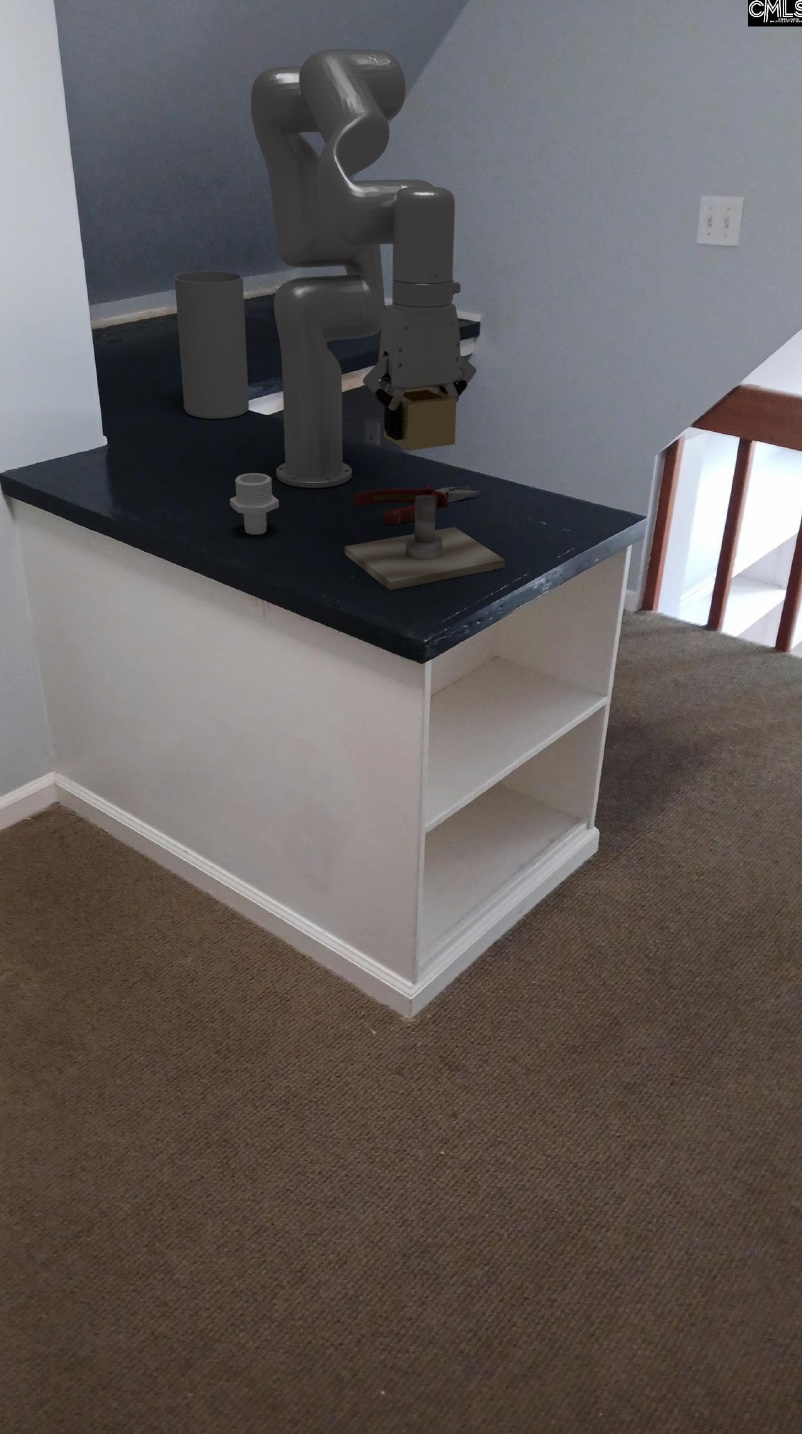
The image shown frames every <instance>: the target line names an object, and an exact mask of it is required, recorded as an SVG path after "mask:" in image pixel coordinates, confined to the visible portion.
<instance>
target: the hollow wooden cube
mask: <svg viewBox="0 0 802 1434" xmlns="http://www.w3.org/2000/svg"><path fill="white" fill-rule="evenodd" d="M398 409H399V410H401V438H400V440H394V439H392V438H391V437H389V436H387V434H386V432H385V429H384V428H383V429H384V430H383V433H384V435H383V438H385V439H387V440H389V441H390V442H391V443H394V444H396V445H397V446H399V447H401V448H402V449H404V450H405V451H417V450H422V449H423V450H424V449H430V448H439V447H446V446H454V445H456V444H455V443H456V426H457V425H456V420H457V403H456V398H453V397H451V396H449V395H447V394H445V393H443V392H441V391H439V389H438V388H434V386H432V387H423V388H414V389H406V390H405V392H404V394H403V396H402V398H401V401H400V403H399V405H398Z"/></svg>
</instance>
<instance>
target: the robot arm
mask: <svg viewBox="0 0 802 1434" xmlns="http://www.w3.org/2000/svg"><path fill="white" fill-rule="evenodd" d="M405 79H406V78H405V75H404V72H403V69H402V66H401V65H400V63H399V61H398V60H397V58H395V56H394V55H393V54H391V53H389V52H387V51H385V50H381V49H358V48H357V49H356V48H355V49H353V48H352V49H351V48H349V49H348V48H331V49H330V48H329V49H323V50H320V51H317V52H315V53H313V54H311V55H310V56H309V57H307V59H306V60H305V61H304V62H303V63H302V65H289V66H279V67H273V68H269V69H266V70H265V71H262V72H261V73H259V74H258V75H257V77H256V78H255V80H254V81H253V83H252V86H251V91H250V113H251V121H252V125H253V126H252V127H253V129H254V134H255V137H256V140H257V143H258V145H259V149H260V152H261V154H262V157H263V159H264V163H265V166H266V169H267V173H268V180H269V186H270V187H269V189H270V198H271V208H272V216H273V217H272V218H273V225H274V233H275V241H276V245H277V251H278V254H279V255H278V256H279V257H280V259H281V260H282V262H283V263H284V264H285V265H287V266H289V267H293V268H304V269H305V268H308V269H309V268H326V267H328V268H329V267H344V269H345V272H346V274H341V275H320V276H319V275H318V276H317V275H316V276H303V277H297V278H292V279H290V280H287V281H285V282H284V283H282V284H281V285H280V286H279V287H278V288H277V290H276V292H275V294H274V298H273V310H274V311H273V312H274V318H275V322H276V323H275V324H276V329H277V334H278V338H279V345H280V347H279V348H280V354H281V355H280V356H281V357H280V358H281V371H282V375H281V377H282V378H281V379H282V397H283V398H282V401H283V403H282V404H283V406H282V407H283V430H284V447H283V448H284V458H285V460H284V463H281V464H280V465H279V466H278V467H277V468H276V471H275V474H276V478H277V480H278V481H280V482H281V483H283V484H286V485H289V486H293V487H296V488H307V489H319V488H320V489H321V488H331V487H335V486H339V485H341V484H342V485H343V484H345V483H347V482H348V481H349V480H350V479H351V478H352V475H353V474H352V473H353V469H352V468H351V466H350V465H348V464H347V463H344V462H343V376H342V375H343V373H342V368H341V366H340V363H339V361H338V360H337V358H336V357H335V355H334V354H333V353H332V352H331V351H330V349H329V347H328V346H327V343H329V342H331V341H337V340H339V341H340V340H348V339H350V340H352V339H359V338H360V339H361V338H362V339H363V338H368V337H372V336H374V335H376V334H378V333H379V332H380V330H381V332H380V341H379V348H378V349H379V351H378V362H377V363H376V364H375V365H374V366H373V367H372V369H371V370H370V371H369V372H367V374H366V375H365V376H364V377H363V379H362V383H363V385H364V386H365V387H366V388H367V389H368V390H369V391H370V393H371V394H372V396H373V397H375V399H376V400H377V401H378V402H379V403H380V404H381V406H383V408H384V410H383V411H384V412H383V424H384V425H383V429H385V432H386V434H387V436H389V437H391V438H392V439H394V440H400V438H401V410H399V409H398V405H399V403H400V401H401V398H402V396H403V394H404V392H405V390H408V389H416V388H425V387H437V390H439V391H441V392H443V393H445V394H447V395H449V396H451V397H453V398H456V404H457V403H458V402H459V400H460V396H461V395H462V393H463V392H464V391H465V390H466V389H467V387H468V384H469V383H470V381H471V380H472V379H473V377H474V376H475V375H476V373H477V369H476V367H475V366H474V365H473V364H471V362H469V361H468V360H467V359H466V358H465V357H464V356H463V355H462V354H461V334H460V326H459V319H458V318H459V317H458V312H457V311H458V310H457V307H456V305H455V304H454V303H453V300H454V295H456V294H459V293H461V289H462V288H461V284H460V282H459V281H457V282H454V279H453V277H454V276H453V270H454V249H455V247H454V244H455V243H454V242H455V241H454V240H455V215H456V203H455V201H456V200H455V197H454V194H453V192H451V190H449V189H447V188H445V187H440V186H434V185H433V184H432V183H430V182H428V181H426V180H423V179H413V178H412V179H367V180H364V179H363V180H353V179H351V177H352V176H354V175H356V174H357V173H360V172H362V171H363V170H365V169H367V168H369V167H370V166H372V165H374V163H376V161H378V159H380V158H381V157H382V155H383V154H384V153H385V151H386V149H387V146H389V145H388V143H389V142H390V134H391V133H390V125H389V122H388V121H390V120H393V118H395V117H397V115H398V114H399V113H400V111H401V110H402V108H403V106H404V103H405V99H406V89H407V88H406V87H407V85H406V80H405ZM301 133H319V134H320V136H321V137H322V139H323V141H324V143H325V145H324V147H323V149H322V151H321V153H320V155H318V153H317V152H316V150H315V149H314V148H313V146H312V145H311V143H310V142H309V141H308V140H307V139H306V138H305V137H304V136H303V135H302V134H301ZM381 245H392V290H391V291H392V294H391V295H392V304H387V305H385V303H386V302H385V301H386V300H385V288H384V279H383V267H382V265H383V264H382V253H381ZM380 381H381V382H383V383H385V384H386V383H387V385H386V387H385V390H384V389H383V388H382V387H381V385H380Z"/></svg>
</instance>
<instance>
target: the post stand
mask: <svg viewBox="0 0 802 1434" xmlns="http://www.w3.org/2000/svg"><path fill="white" fill-rule="evenodd" d="M414 504H415V520H414V534H407V535H402V536H397V537H391V538H390V537H389V538H384V539H378V540H374V541H373V540H372V541H366V542H362V543H358V544H351V545H345V546H344V555H345V556H346V557H347V558H349V559H350V560H351V561H352V562H354V563H355V564H356V565H357V566H358V567H360V568H361V569H362V570H364V572H366V573H368V574H369V575H370V576H371V577H373V579H375V580H376V581H378V582H379V583H380V584H381V585H382V586H383V587H385V588H386V589H387V590H389V591H395V590H398V589H404V588H410V587H415V586H418V585H425V584H429V583H434V582H439V581H444V580H449V579H455V578H458V577H459V578H460V577H464V576H468V575H469V576H471V575H474V574H480V573H485V572H490V571H495V570H494V569H496V570H500V568H501V569H505V565H506V564H505V563H506V562H505V561H506V560H505V559H504V558H503V557H502V556H500V555H498V553H495V552H494V551H492V550H490V549H489V548H487V546H485V545H483V544H481V543H480V542H478V541H477V540H476V539H473V538H472V537H470V536H469V535H468V534H466V533H465V532H463V531H461V530H460V529H458V528H457V527H455V526H453V527H447V528H441V529H436V510H437V509H436V508H437V507H436V498H435V497H434V496H430V495H420V496H417V497H416V498H415V502H414Z"/></svg>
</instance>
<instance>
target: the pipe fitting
mask: <svg viewBox="0 0 802 1434" xmlns="http://www.w3.org/2000/svg"><path fill="white" fill-rule="evenodd" d="M234 482H235V492H236V493H235V495H236V496H234V497H231V498H230V499H229V504H230V507H231V508H233V510H235V511H236V512H237V513H239V514H243V518H244V519H243V524H244V532H245V533H247V534H248V535H249V534H250V535H263V534H265V533H266V532H267V523H268V522H267V513H269V512H270V511H272V510H273V511H274V510H275V509H278V508H279V507H280V506H279V505H280V503H279V502H280V501H279V499H277V497H275V496H274V495H273V493H272V492H273V490H272V489H273V488H272V484H273V483H272V477H270V476H269V475H267V474H264V473H256V472H255V473H254V472H251V473H249V472H248V473H244V474H240V475H238V476H237V477H236V478H235V480H234Z"/></svg>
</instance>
